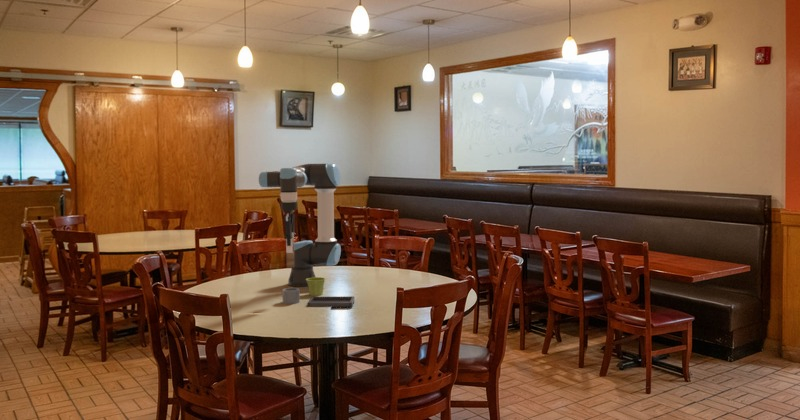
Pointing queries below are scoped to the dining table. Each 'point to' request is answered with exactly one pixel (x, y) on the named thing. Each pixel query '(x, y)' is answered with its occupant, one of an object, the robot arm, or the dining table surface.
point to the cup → (291, 295)
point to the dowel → (291, 255)
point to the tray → (332, 302)
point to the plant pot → (315, 285)
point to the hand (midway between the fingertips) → (290, 251)
